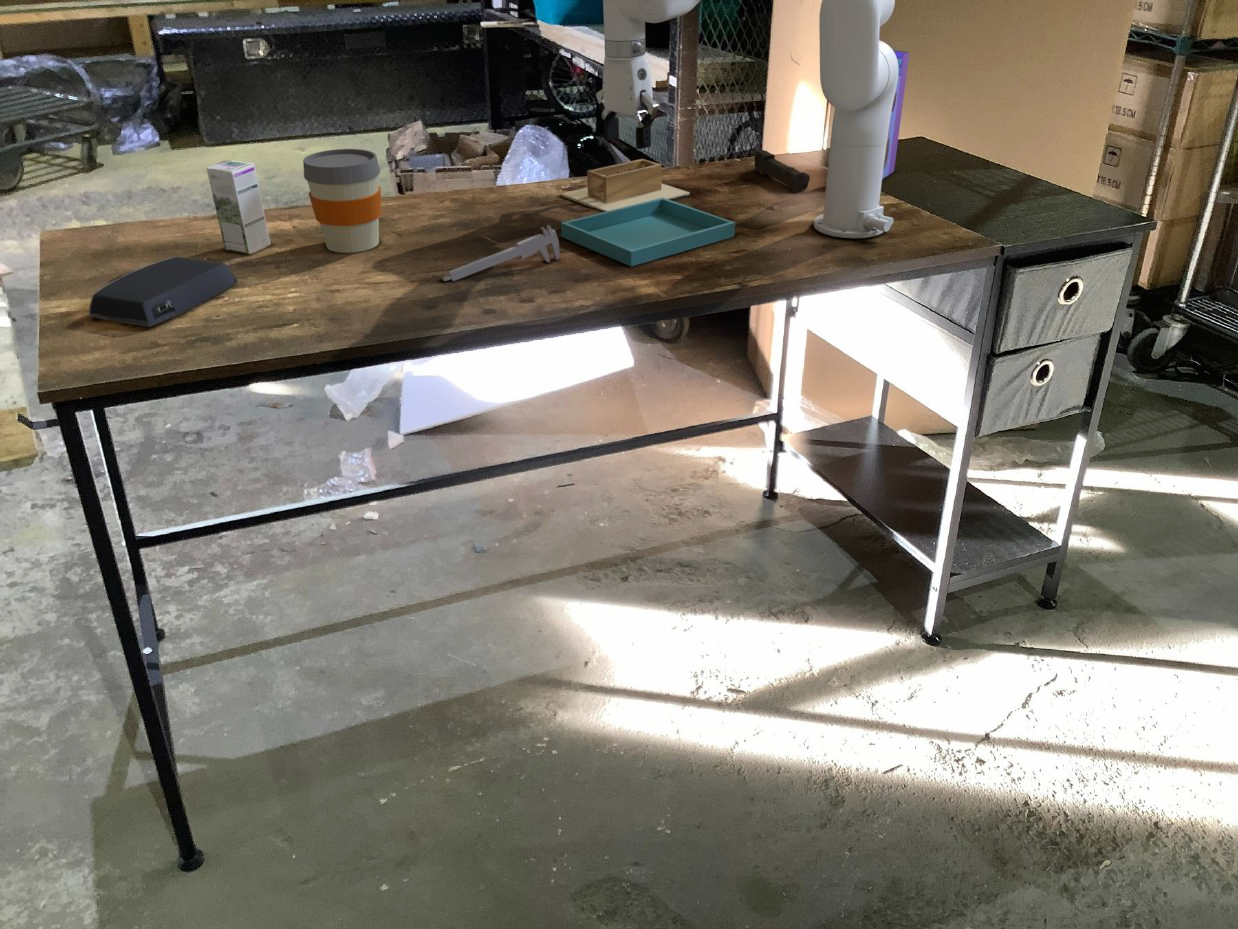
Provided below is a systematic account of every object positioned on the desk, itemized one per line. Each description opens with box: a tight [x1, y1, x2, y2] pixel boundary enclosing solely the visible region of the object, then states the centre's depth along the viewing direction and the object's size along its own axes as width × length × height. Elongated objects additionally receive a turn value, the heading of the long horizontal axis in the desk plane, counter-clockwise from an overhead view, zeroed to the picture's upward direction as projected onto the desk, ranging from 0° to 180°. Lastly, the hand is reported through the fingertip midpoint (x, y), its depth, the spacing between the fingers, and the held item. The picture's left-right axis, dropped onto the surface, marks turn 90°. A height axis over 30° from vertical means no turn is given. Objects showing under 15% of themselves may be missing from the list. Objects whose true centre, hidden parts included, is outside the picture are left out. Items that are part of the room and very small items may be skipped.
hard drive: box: [88, 255, 239, 328], centre depth 156 cm, size 13×19×4 cm
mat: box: [560, 182, 691, 212], centre depth 202 cm, size 16×20×1 cm
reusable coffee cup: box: [302, 148, 382, 254], centre depth 175 cm, size 12×13×15 cm
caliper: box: [441, 224, 561, 282], centre depth 165 cm, size 20×1×6 cm, turn 119°
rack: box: [586, 158, 663, 203], centre depth 201 cm, size 6×14×5 cm, turn 129°
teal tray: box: [560, 198, 736, 267], centre depth 180 cm, size 20×24×3 cm
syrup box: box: [206, 159, 272, 255], centre depth 174 cm, size 6×6×14 cm
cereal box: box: [882, 49, 910, 181], centre depth 204 cm, size 17×5×24 cm, turn 147°
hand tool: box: [753, 149, 810, 194], centre depth 209 cm, size 19×4×5 cm, turn 19°
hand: (627, 143), depth 197 cm, fingers open, 9 cm apart
